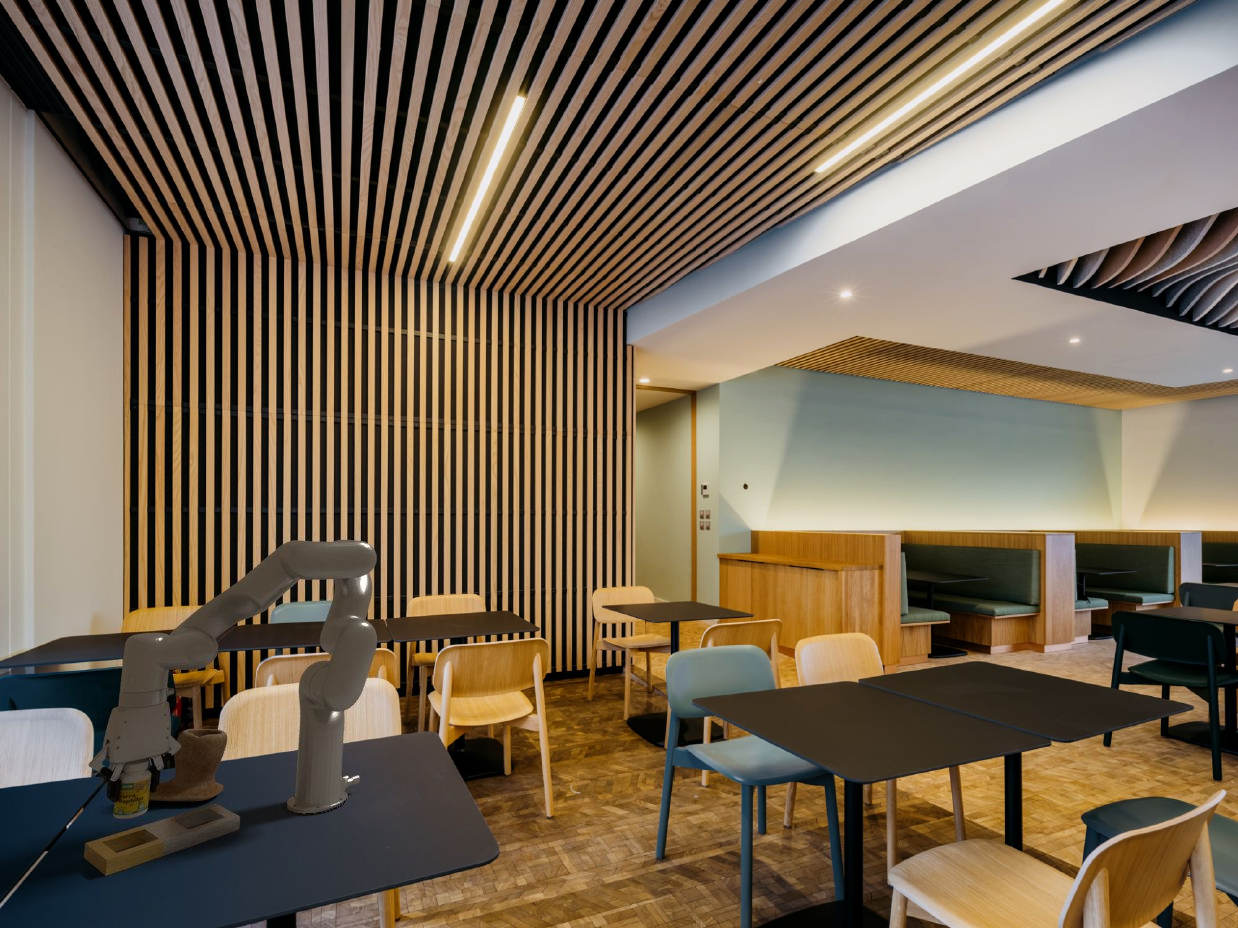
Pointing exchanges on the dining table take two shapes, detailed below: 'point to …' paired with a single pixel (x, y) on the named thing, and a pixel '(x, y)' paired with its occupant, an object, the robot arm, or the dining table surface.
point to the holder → (160, 838)
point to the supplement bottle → (133, 790)
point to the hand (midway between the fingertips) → (132, 794)
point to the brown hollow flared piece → (194, 767)
